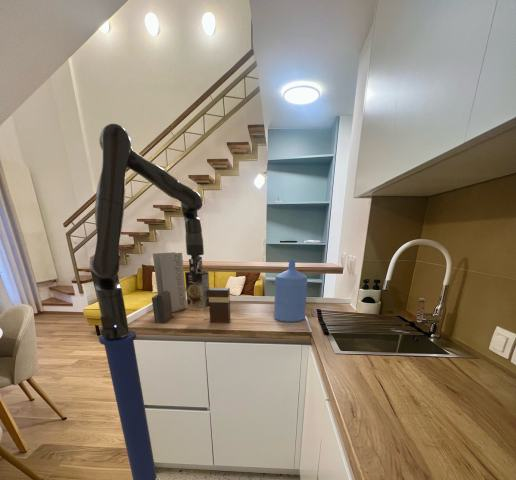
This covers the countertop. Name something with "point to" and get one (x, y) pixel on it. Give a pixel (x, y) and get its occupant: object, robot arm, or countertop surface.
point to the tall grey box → (171, 278)
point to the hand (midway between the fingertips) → (197, 281)
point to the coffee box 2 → (219, 304)
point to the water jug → (290, 295)
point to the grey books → (162, 307)
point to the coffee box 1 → (197, 290)
